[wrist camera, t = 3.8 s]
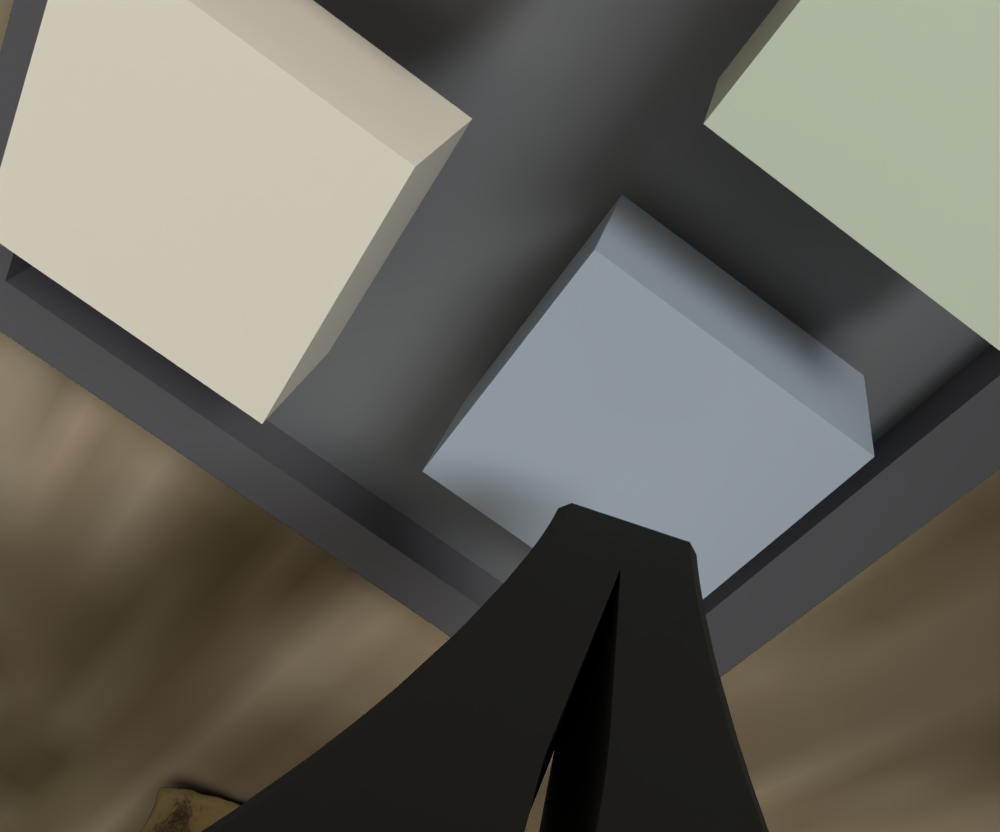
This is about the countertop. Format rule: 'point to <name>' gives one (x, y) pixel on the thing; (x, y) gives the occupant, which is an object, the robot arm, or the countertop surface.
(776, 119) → the key sage
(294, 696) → the countertop surface
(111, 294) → the key cream
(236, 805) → the rock
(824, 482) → the key slate
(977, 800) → the countertop surface
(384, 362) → the dark grey tray
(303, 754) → the countertop surface
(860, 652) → the countertop surface
